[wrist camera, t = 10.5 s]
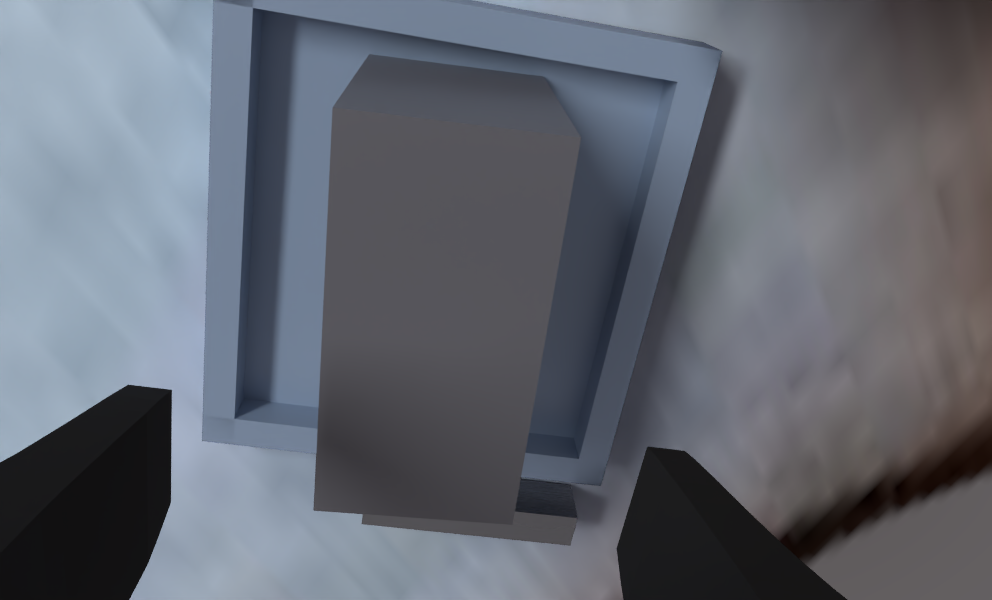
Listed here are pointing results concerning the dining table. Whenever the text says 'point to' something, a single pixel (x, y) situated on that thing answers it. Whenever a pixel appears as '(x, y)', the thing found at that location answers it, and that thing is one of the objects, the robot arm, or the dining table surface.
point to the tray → (305, 185)
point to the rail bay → (537, 519)
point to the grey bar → (437, 286)
